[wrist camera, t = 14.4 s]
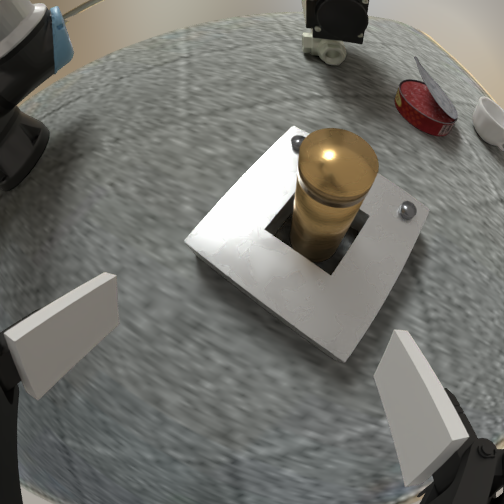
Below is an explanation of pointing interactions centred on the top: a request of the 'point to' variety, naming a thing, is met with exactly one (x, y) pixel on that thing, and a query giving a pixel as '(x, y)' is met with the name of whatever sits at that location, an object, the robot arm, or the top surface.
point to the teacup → (489, 122)
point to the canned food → (425, 104)
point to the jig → (298, 267)
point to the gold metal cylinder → (329, 190)
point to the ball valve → (333, 27)
